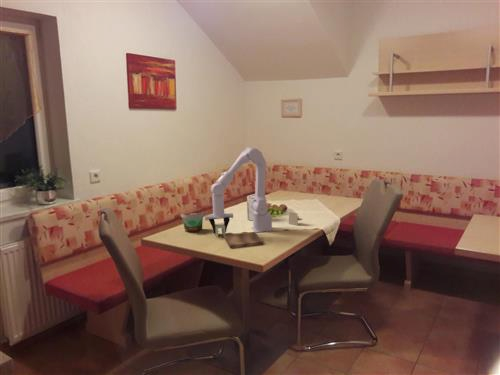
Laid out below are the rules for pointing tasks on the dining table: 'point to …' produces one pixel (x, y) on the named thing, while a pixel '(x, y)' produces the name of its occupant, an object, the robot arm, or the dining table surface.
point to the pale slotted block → (222, 226)
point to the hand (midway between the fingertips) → (219, 232)
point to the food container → (193, 222)
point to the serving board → (243, 240)
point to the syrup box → (250, 207)
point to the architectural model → (294, 218)
